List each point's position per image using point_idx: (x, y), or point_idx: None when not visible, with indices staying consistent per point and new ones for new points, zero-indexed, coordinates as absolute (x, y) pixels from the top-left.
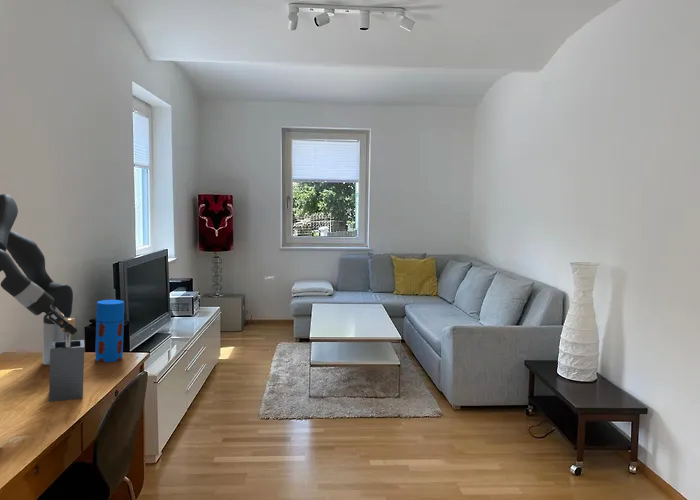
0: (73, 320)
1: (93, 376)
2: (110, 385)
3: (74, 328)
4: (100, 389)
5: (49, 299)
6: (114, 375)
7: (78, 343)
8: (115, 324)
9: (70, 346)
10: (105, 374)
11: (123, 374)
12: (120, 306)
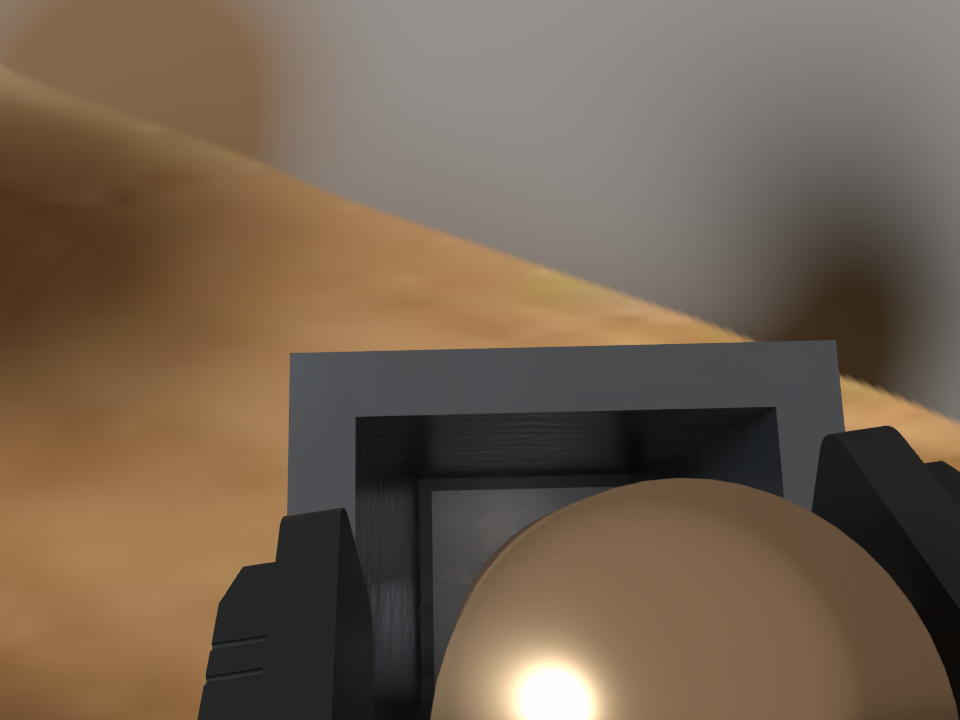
0: (829, 536)
1: (66, 364)
2: (380, 225)
3: (939, 496)
4: (463, 305)
5: None
6: (105, 186)
7: (361, 453)
8: None
9: (366, 585)
10: (44, 261)
11: (104, 112)
12: None
